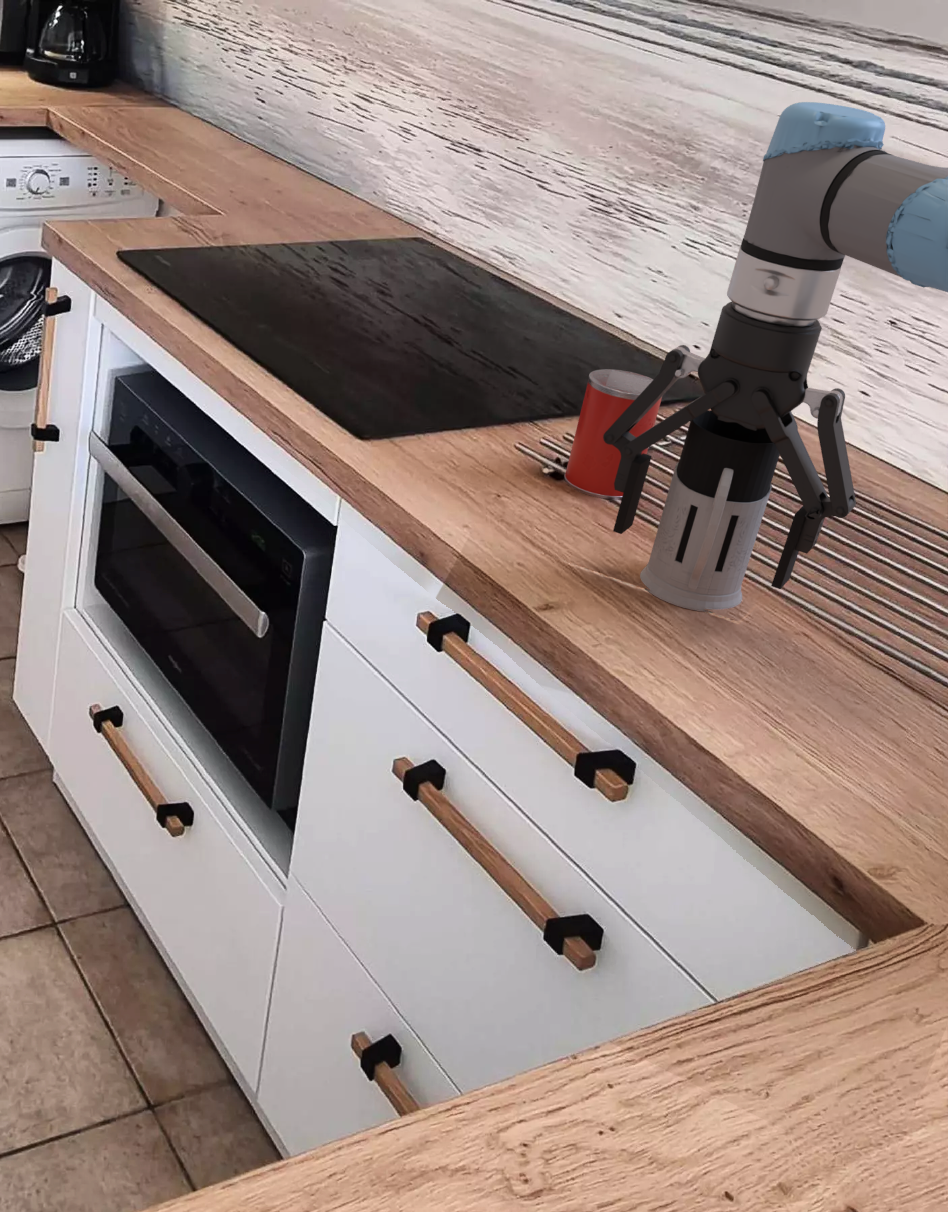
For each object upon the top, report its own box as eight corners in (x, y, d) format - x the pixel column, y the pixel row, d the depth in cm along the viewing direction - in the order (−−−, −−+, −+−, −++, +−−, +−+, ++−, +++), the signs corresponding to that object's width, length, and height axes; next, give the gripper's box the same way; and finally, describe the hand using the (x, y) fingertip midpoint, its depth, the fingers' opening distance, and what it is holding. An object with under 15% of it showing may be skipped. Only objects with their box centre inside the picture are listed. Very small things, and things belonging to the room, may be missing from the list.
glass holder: (744, 582, 140) (794, 422, 133) (736, 648, 128) (790, 477, 121) (644, 557, 142) (687, 399, 136) (626, 620, 130) (673, 451, 124)
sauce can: (646, 489, 158) (674, 384, 153) (620, 508, 152) (649, 400, 147) (579, 467, 161) (605, 364, 156) (552, 485, 156) (577, 379, 151)
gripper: (604, 278, 127) (544, 519, 137) (930, 365, 115) (838, 622, 125) (637, 263, 132) (577, 495, 142) (951, 345, 120) (862, 592, 130)
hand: (699, 555), depth 133 cm, fingers open, 13 cm apart
